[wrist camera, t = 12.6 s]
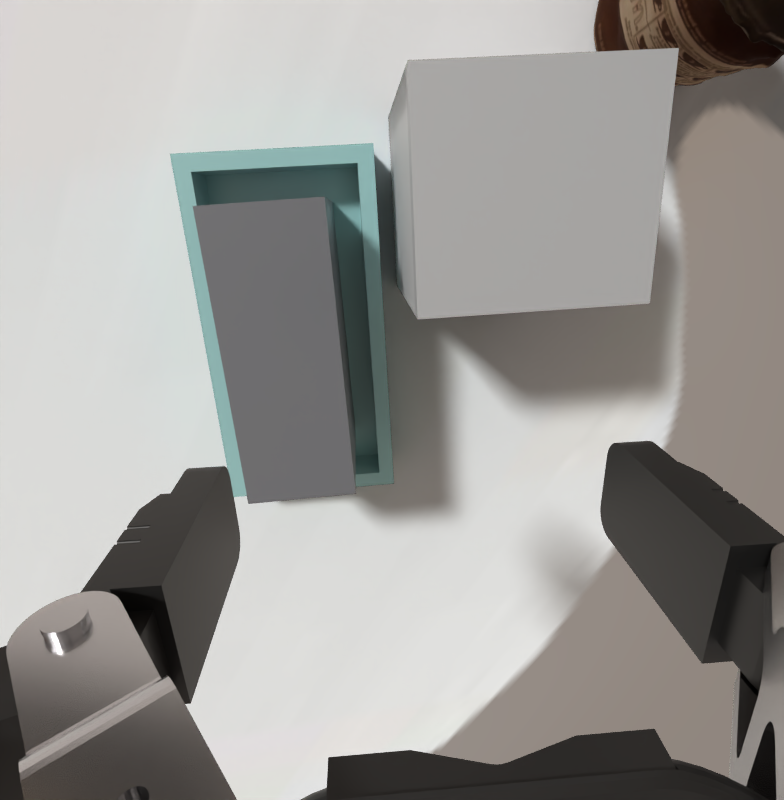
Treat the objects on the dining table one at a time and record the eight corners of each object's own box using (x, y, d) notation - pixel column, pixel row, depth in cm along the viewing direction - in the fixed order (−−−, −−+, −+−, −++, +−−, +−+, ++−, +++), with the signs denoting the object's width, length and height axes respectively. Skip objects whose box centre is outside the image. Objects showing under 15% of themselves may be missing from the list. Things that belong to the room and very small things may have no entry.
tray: (190, 160, 27) (169, 153, 24) (371, 151, 27) (373, 143, 24) (243, 472, 33) (232, 496, 30) (390, 460, 33) (393, 483, 30)
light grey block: (388, 117, 27) (407, 60, 17) (562, 108, 27) (679, 48, 17) (397, 285, 30) (417, 319, 20) (554, 275, 30) (649, 303, 20)
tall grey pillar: (237, 208, 27) (192, 206, 20) (332, 201, 27) (324, 196, 20) (274, 439, 32) (249, 509, 24) (356, 432, 32) (356, 499, 24)
